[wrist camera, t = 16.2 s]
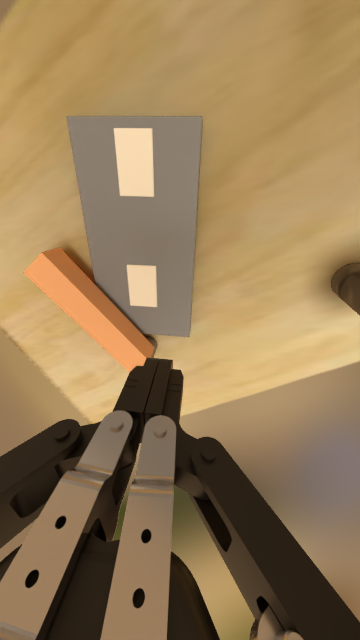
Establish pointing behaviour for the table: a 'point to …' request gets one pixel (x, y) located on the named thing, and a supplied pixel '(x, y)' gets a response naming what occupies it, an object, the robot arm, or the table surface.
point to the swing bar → (89, 307)
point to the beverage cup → (348, 285)
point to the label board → (141, 213)
